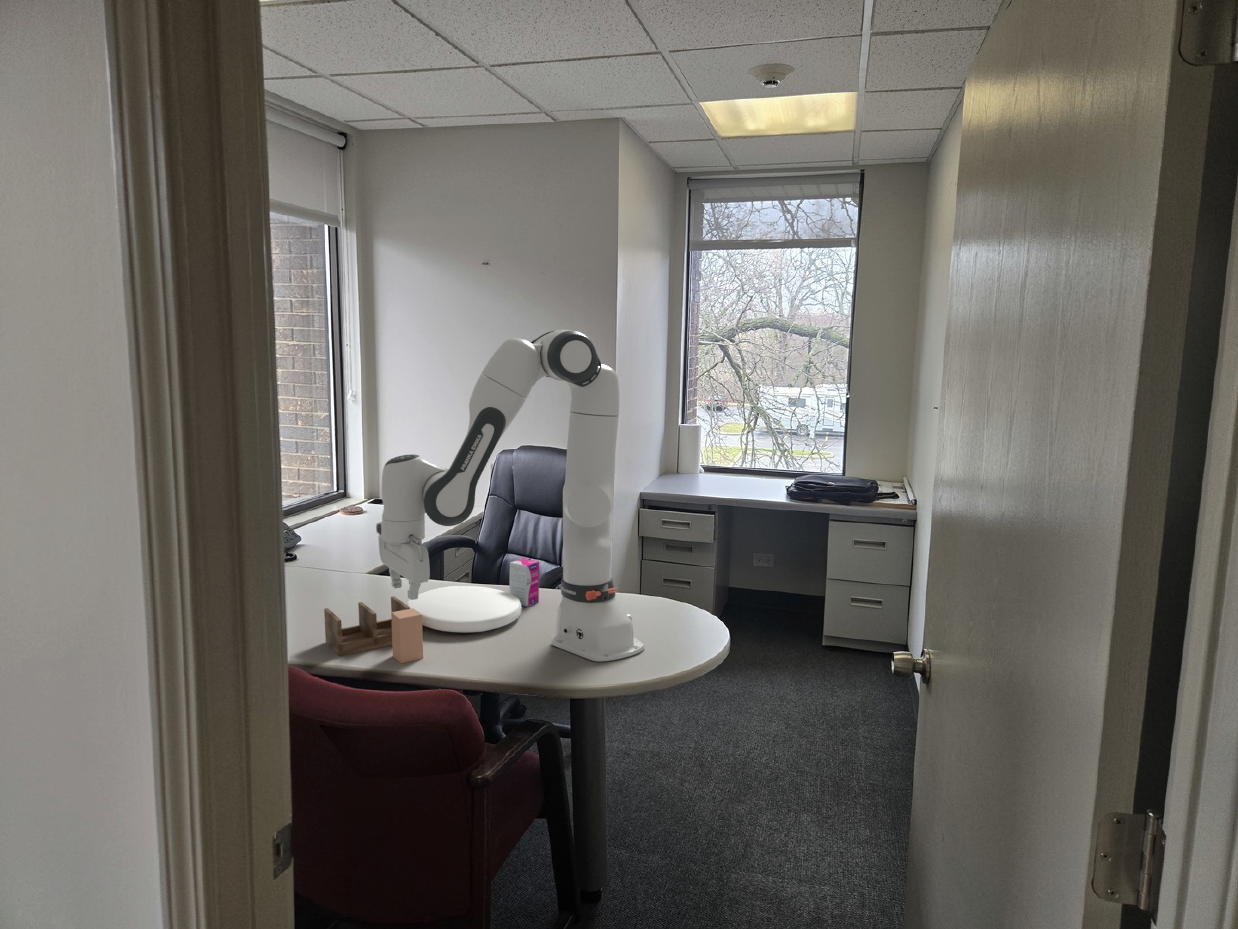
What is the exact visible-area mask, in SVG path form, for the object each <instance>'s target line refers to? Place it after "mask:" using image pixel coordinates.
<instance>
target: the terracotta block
mask: <svg viewBox="0 0 1238 929" xmlns="http://www.w3.org/2000/svg"><path fill="white" fill-rule="evenodd" d="M390 614H391V618H390V619H392V645H391V647H392V657H393V658H395V660H397V661H398V663H400V664H405V663H409V662H415V661H417V660H421V659H424V644H423V643H424V641H423V639H424V637H423V634H424V633H423V625H422V614H421V613H419V612H418V611H416V610H415V609H414V608H412V609H406V610H401V611H396V612H390Z"/></svg>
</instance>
